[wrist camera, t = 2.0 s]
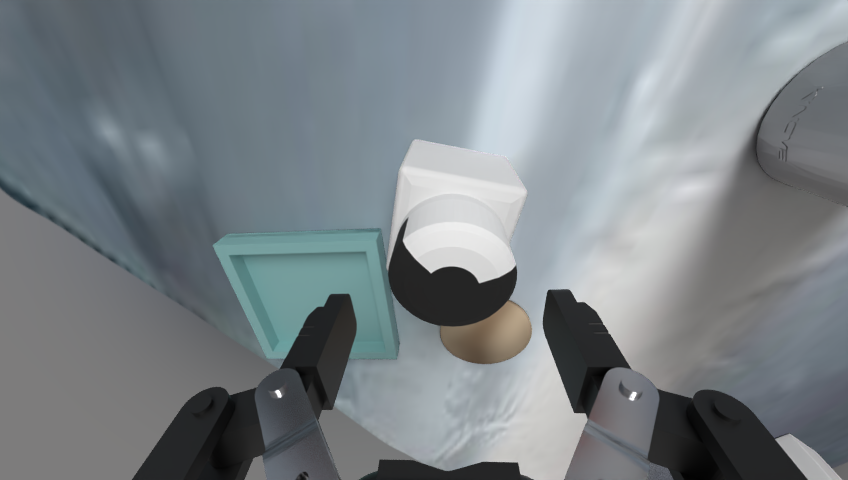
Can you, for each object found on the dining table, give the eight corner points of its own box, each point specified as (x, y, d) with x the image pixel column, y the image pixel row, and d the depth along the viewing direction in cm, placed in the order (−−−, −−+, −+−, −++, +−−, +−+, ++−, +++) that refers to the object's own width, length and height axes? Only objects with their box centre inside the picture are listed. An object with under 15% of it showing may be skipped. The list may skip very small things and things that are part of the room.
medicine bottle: (482, 238, 26) (505, 355, 16) (399, 223, 26) (367, 330, 16) (508, 155, 23) (559, 235, 12) (412, 137, 22) (381, 202, 12)
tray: (380, 228, 26) (376, 240, 25) (399, 343, 33) (396, 359, 32) (227, 233, 28) (212, 245, 26) (276, 343, 35) (266, 358, 33)
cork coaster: (535, 295, 29) (536, 298, 28) (526, 360, 33) (527, 364, 33) (438, 296, 30) (438, 299, 29) (442, 359, 34) (442, 363, 34)
